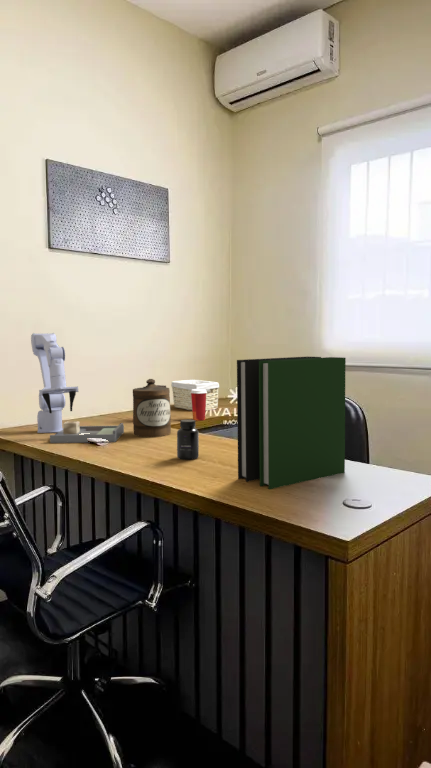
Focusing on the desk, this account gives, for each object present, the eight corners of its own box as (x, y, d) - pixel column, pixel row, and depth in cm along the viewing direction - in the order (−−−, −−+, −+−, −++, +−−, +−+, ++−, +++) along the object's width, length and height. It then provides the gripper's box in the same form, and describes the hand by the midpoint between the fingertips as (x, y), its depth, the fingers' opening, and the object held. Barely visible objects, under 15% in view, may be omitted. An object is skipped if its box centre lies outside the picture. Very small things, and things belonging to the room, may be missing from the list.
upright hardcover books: (271, 490, 132) (270, 361, 129) (234, 477, 144) (233, 359, 141) (344, 472, 148) (345, 357, 145) (306, 462, 160) (306, 356, 157)
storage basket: (221, 409, 281) (220, 381, 279) (196, 412, 271) (195, 383, 270) (194, 405, 300) (194, 379, 298) (170, 408, 290) (169, 381, 289)
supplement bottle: (182, 461, 164) (181, 422, 163) (173, 457, 170) (173, 419, 169) (202, 458, 167) (201, 421, 166) (193, 454, 173) (192, 418, 172)
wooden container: (139, 438, 202) (137, 381, 201) (129, 432, 216) (127, 378, 214) (176, 435, 208) (175, 379, 207) (164, 429, 222) (162, 376, 220)
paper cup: (210, 418, 248) (209, 389, 247) (202, 421, 241) (202, 390, 240) (195, 418, 251) (194, 388, 250) (187, 420, 244) (187, 390, 243)
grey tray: (50, 443, 196) (49, 432, 196) (64, 433, 216) (64, 423, 215) (115, 441, 196) (114, 431, 196) (123, 432, 216) (123, 422, 216)
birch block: (63, 433, 203) (63, 423, 203) (67, 431, 208) (66, 421, 208) (76, 433, 203) (76, 423, 203) (79, 431, 208) (79, 421, 208)
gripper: (37, 377, 201) (40, 412, 199) (76, 373, 205) (80, 408, 203) (38, 380, 208) (41, 414, 206) (77, 377, 212) (80, 410, 210)
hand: (61, 412), depth 205 cm, fingers open, 7 cm apart
